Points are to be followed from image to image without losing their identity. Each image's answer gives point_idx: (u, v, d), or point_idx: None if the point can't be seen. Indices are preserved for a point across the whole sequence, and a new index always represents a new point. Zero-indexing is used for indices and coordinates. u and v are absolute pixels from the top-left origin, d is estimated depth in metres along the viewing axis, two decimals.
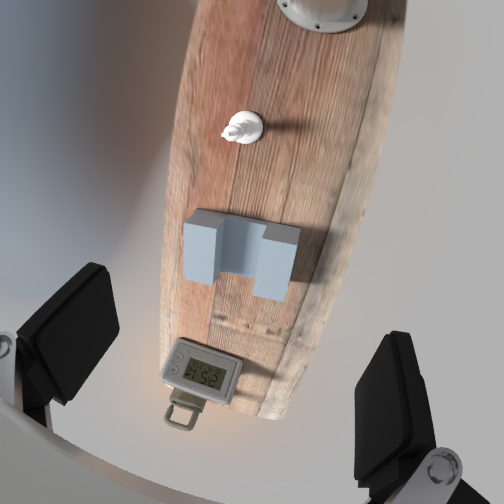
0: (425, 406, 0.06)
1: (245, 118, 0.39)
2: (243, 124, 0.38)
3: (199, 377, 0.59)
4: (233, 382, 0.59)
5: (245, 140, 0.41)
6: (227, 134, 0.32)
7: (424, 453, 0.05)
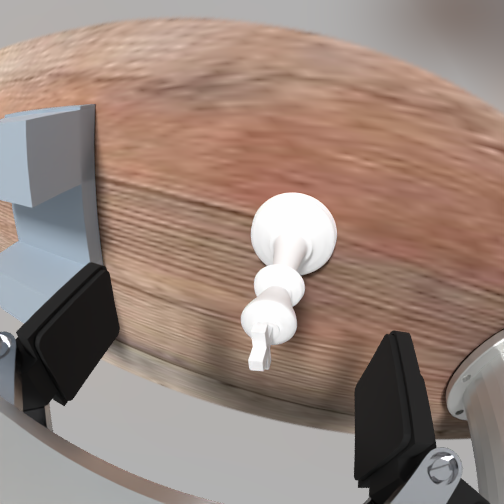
0: (425, 406, 0.06)
1: (317, 248, 0.16)
2: None
3: None
4: None
5: (258, 239, 0.17)
6: (257, 367, 0.09)
7: (424, 453, 0.05)
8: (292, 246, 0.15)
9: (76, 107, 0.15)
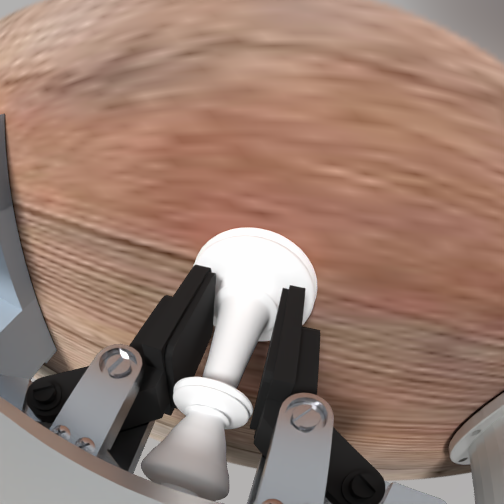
0: (297, 349, 0.07)
1: None
2: (255, 345, 0.09)
3: None
4: None
5: None
6: None
7: None
8: (242, 322, 0.09)
9: None
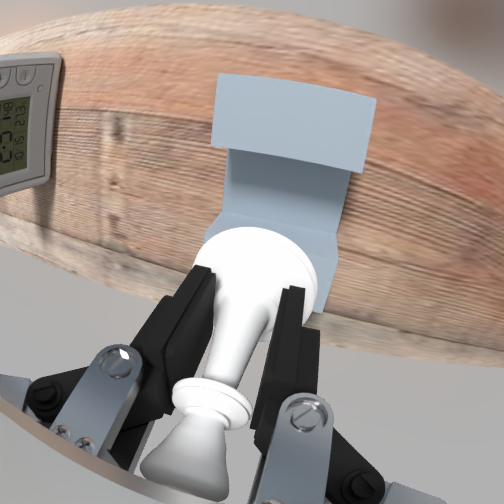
0: (297, 349, 0.07)
1: None
2: None
3: None
4: (11, 189, 0.25)
5: None
6: None
7: None
8: (242, 322, 0.09)
9: None
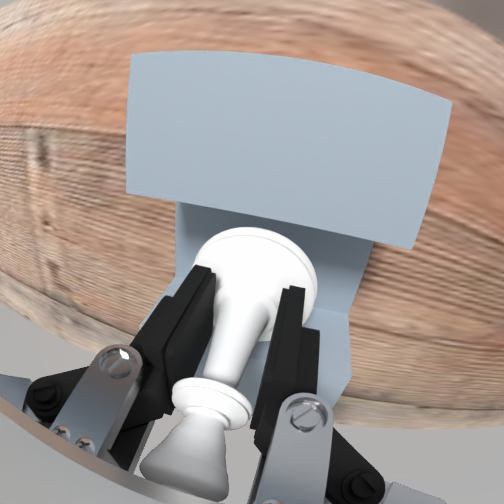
0: (297, 349, 0.07)
1: None
2: (255, 345, 0.09)
3: None
4: None
5: None
6: None
7: None
8: (241, 322, 0.09)
9: None
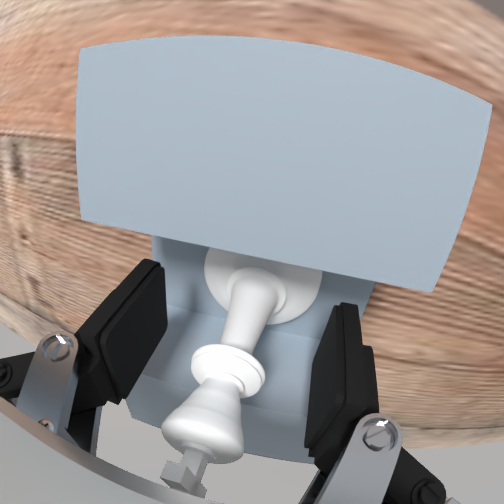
0: (363, 370, 0.07)
1: (294, 293, 0.12)
2: None
3: None
4: None
5: (214, 281, 0.12)
6: None
7: None
8: (254, 300, 0.10)
9: None
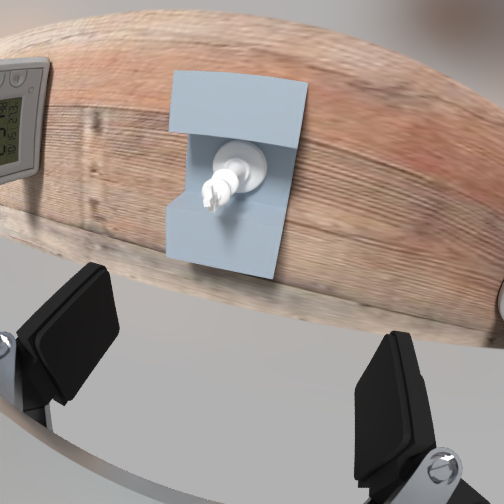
0: (425, 406, 0.06)
1: (253, 171, 0.26)
2: (240, 178, 0.25)
3: None
4: (4, 180, 0.27)
5: (217, 169, 0.26)
6: (207, 204, 0.18)
7: (424, 453, 0.05)
8: (235, 166, 0.24)
9: None
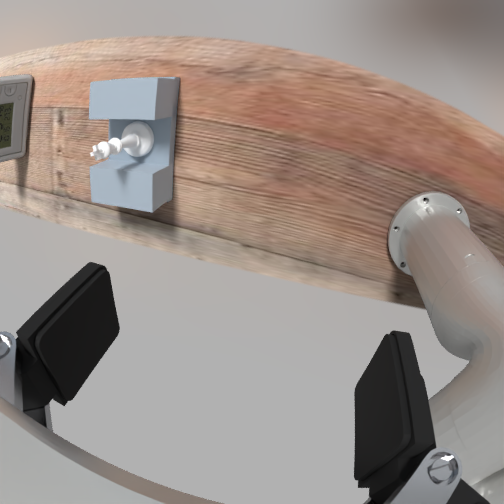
0: (425, 406, 0.06)
1: (143, 140, 0.35)
2: (131, 144, 0.34)
3: None
4: (0, 159, 0.37)
5: None
6: (92, 154, 0.28)
7: (424, 453, 0.05)
8: (127, 137, 0.34)
9: (172, 77, 0.32)
